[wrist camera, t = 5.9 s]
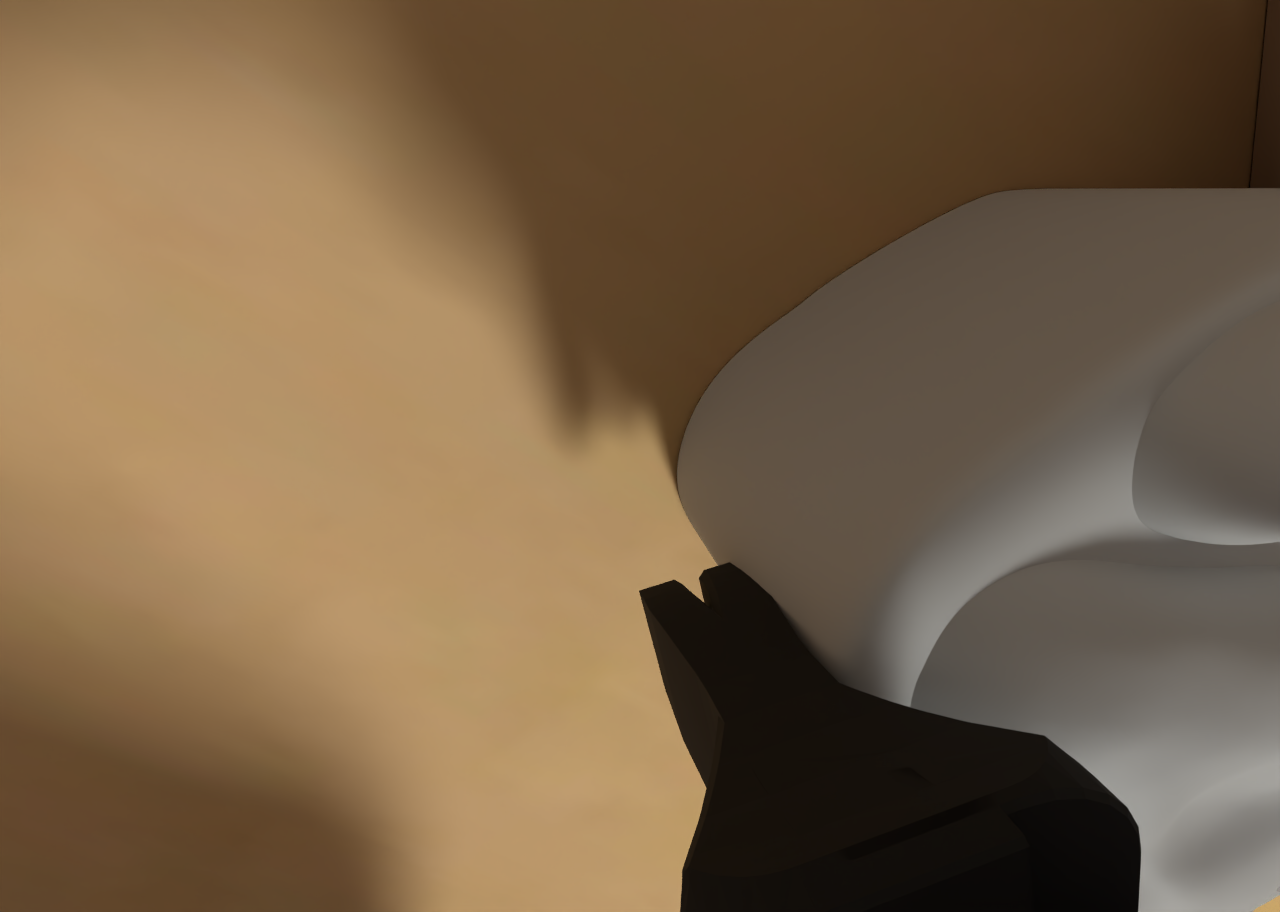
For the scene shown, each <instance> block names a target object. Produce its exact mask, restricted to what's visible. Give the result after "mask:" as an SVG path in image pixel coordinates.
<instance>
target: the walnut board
mask: <svg viewBox="0 0 1280 912" xmlns="http://www.w3.org/2000/svg"><path fill="white" fill-rule="evenodd" d="M1250 188H1280V0H1268V7H1267V18H1266V28H1265V38H1264V49H1263V59H1262V69H1261V80H1260V90H1259V100H1258V111H1257V121H1256V131H1255V142H1254V152H1253V162H1252V173H1251V183H1250Z"/></svg>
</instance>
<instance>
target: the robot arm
mask: <svg viewBox="0 0 1280 912" xmlns="http://www.w3.org/2000/svg"><path fill="white" fill-rule="evenodd" d="M699 580H700V585H701V589H702V594H703V598H704V602H705V603H704V602H702V601H701V600H700V599H699V598H698V597H696V596H695V595H694V594H693V593H692V592H690V591H689V590H688V589H687V588H686V587H685V586H684V585H682V584H681V583H679V582H677V581H676V580H672V581H669V582H665V583H662V584H659V585H656V586H653V587H650V588H647V589H643V590H640V591H639V592H640V596H641V600H642V604H643V607H644V611H645V615H646V619H647V622H648V626H649V630H650V634H651V637H652V641H653V645H654V649H655V652H656V656H657V660H658V664H659V668H660V671H661V675H662V679H663V683H664V686H665V690H666V692H667V695H668V698H669V701H670V704H671V707H672V709H673V712H674V715H675V718H676V721H677V723H678V726H679V729H680V732H681V735H682V737H683V740H684V742H685V744H686V746H687V749H688V751H689V753H690V755H691V757H692V759H693V761H694V763H695V765H696V767H697V769H698V771H699V773H700V775H701V777H702V779H703V781H704V784H705V786H706V788H707V789H706V793H705V797H704V802H703V806H702V810H701V814H700V818H699V821H698V824H697V827H696V830H695V833H694V836H693V839H692V842H691V845H690V848H689V851H688V854H687V857H686V860H685V863H684V866H683V870H682V893H681V908H680V912H1138V907H1139V888H1140V869H1141V843H1140V834H1139V826H1138V825H1137V823H1136V821H1135V819H1134V818H1133V816H1132V814H1131V813H1130V811H1129V809H1128V807H1127V806H1125V805H1124V804H1123V803H1122V802H1121V801H1120V800H1119V799H1118V798H1117V797H1116V796H1115V795H1114V794H1113V793H1112V792H1111V791H1110V790H1108V789H1107V788H1106V787H1105V786H1104V785H1103V784H1102V783H1101V782H1100V781H1099V780H1098V779H1097V778H1096V777H1095V776H1094V775H1092V774H1091V773H1090V772H1089V771H1088V770H1087V769H1086V768H1084V767H1083V766H1082V765H1081V764H1080V763H1079V762H1078V761H1076V760H1075V759H1074V758H1072V757H1071V756H1070V755H1068V754H1067V753H1066V752H1065V751H1063V750H1062V749H1061V748H1059V747H1058V746H1057V745H1056V744H1054V743H1053V742H1052V741H1051V740H1050V739H1048V738H1047V737H1046V736H1044V735H1039V734H1034V733H1028V732H1022V731H1016V730H1011V729H1005V728H999V727H994V726H988V725H982V724H976V723H971V722H966V721H962V720H957V719H953V718H949V717H945V716H941V715H937V714H933V713H930V712H926V711H922V710H918V709H915V708H911V707H908V706H904V705H901V704H898V703H894V702H891V701H888V700H885V699H882V698H880V697H877V696H874V695H871V694H868V693H865V692H862V691H859V690H857V689H854V688H851V687H849V686H846V685H844V684H841V683H839V682H838V681H837V680H836V679H835V678H834V677H833V676H832V675H831V674H830V673H829V672H828V671H827V670H826V669H825V668H824V667H823V666H822V665H821V664H820V662H819V661H818V660H817V659H816V658H815V657H814V656H813V655H812V654H811V653H810V652H809V650H808V649H807V648H806V647H805V645H804V644H803V643H802V641H801V640H800V639H799V637H798V636H797V634H796V633H795V631H794V630H793V628H792V627H791V625H790V624H789V622H788V620H787V619H786V617H785V616H784V614H783V613H782V611H781V610H780V608H779V607H778V605H777V604H776V602H775V600H774V599H773V597H772V596H771V595H770V594H769V593H768V592H766V591H765V590H764V589H763V588H762V587H761V586H760V585H759V584H758V583H757V582H756V581H754V580H753V579H752V578H751V577H750V576H749V575H747V574H746V573H745V572H743V571H742V570H741V569H739V568H738V567H736V566H735V565H733V564H732V563H730V562H728V563H725V564H722V565H719V566H716V567H713V568H709V569H706V570H704V571H703V573H702V574H701V576H700V577H699Z"/></svg>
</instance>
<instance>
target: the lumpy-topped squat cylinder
mask: <svg viewBox="0 0 1280 912" xmlns="http://www.w3.org/2000/svg"><path fill="white" fill-rule="evenodd" d="M677 484H678V491H679V496H680V500H681V503H682V506H683V508H684V511H685V513H686V515H687V517H688V519H689V521H690V522H691V524H692V525H693V527H694V529H695V530H696V532H697V533H698V535H699V536H700V538H701V540H702V541H703V543H704V544H705V546H706V548H707V549H708V551H709V552H710V554H711V555H712V557H713V559H714V560H715V562H716V563H717V565H718V566H719V565H722V564H725V563H728V562H730V563H732V564H733V565H735V566H736V567H738V568H739V569H741V570H742V571H743V572H745V573H746V574H747V575H749V576H750V577H751V578H752V579H753V580H754V581H756V582H757V583H758V584H759V585H760V586H761V587H762V588H763V589H764V590H765V591H766V592H768V593H769V594H770V595H771V596H772V597H773V599H774V600H775V602H776V604H777V605H778V607H779V608H780V610H781V611H782V613H783V614H784V616H785V617H786V619H787V620H788V622H789V624H790V625H791V627H792V628H793V630H794V631H795V633H796V634H797V636H798V637H799V639H800V640H801V641H802V643H803V644H804V645H805V647H806V648H807V649H808V650H809V652H810V653H811V654H812V655H813V656H814V657H815V658H816V659H817V660H818V661H819V662H820V664H821V665H822V666H823V667H824V668H825V669H826V670H827V671H828V672H829V673H830V674H831V675H832V676H833V677H834V678H835V679H836V680H837V681H838V682H839V683H841V684H844V685H846V686H849V687H851V688H854V689H857V690H859V691H862V692H865V693H868V694H871V695H874V696H877V697H880V698H882V699H885V700H888V701H891V702H894V703H898V704H901V705H904V706H908V707H911V708H915V709H918V710H922V711H926V712H930V713H933V714H937V715H941V716H945V717H949V718H953V719H957V720H962V721H966V722H971V723H976V724H982V725H988V726H994V727H999V728H1005V729H1011V730H1016V731H1022V732H1028V733H1034V734H1039V735H1044V736H1046V737H1047V738H1048V739H1050V740H1051V741H1052V742H1053V743H1054V744H1056V745H1057V746H1058V747H1059V748H1061V749H1062V750H1063V751H1065V752H1066V753H1067V754H1068V755H1070V756H1071V757H1072V758H1074V759H1075V760H1076V761H1078V762H1079V763H1080V764H1081V765H1082V766H1083V767H1084V768H1086V769H1087V770H1088V771H1089V772H1090V773H1091V774H1092V775H1094V776H1095V777H1096V778H1097V779H1098V780H1099V781H1100V782H1101V783H1102V784H1103V785H1104V786H1105V787H1106V788H1107V789H1108V790H1110V791H1111V792H1112V793H1113V794H1114V795H1115V796H1116V797H1117V798H1118V799H1119V800H1120V801H1121V802H1122V803H1123V804H1124V805H1125V806H1127V807H1128V809H1129V811H1130V813H1131V814H1132V816H1133V818H1134V819H1135V821H1136V823H1137V825H1138V826H1139V834H1140V843H1141V869H1140V888H1139V907H1138V912H1252V911H1254V910H1255V909H1256V908H1257V907H1259V906H1261V905H1263V904H1265V903H1267V902H1269V901H1270V900H1272V899H1274V898H1275V897H1277V896H1279V895H1280V188H1096V189H1024V190H1011V191H1002V192H997V193H993V194H990V195H986V196H984V197H981V198H978V199H976V200H973V201H971V202H969V203H967V204H964V205H962V206H960V207H958V208H956V209H954V210H952V211H950V212H947V213H945V214H943V215H941V216H940V217H938V218H936V219H934V220H932V221H930V222H928V223H926V224H924V225H922V226H921V227H919V228H917V229H915V230H913V231H912V232H910V233H908V234H906V235H904V236H903V237H901V238H899V239H897V240H896V241H894V242H892V243H890V244H889V245H887V246H885V247H884V248H882V249H880V250H879V251H877V252H875V253H874V254H872V255H870V256H869V257H867V258H865V259H864V260H862V261H861V262H859V263H857V264H856V265H854V266H853V267H851V268H850V269H848V270H846V271H845V272H843V273H842V274H840V275H839V276H837V277H836V278H834V279H833V280H831V281H830V282H828V283H827V284H826V285H824V286H823V287H821V288H820V289H819V290H817V291H816V292H815V293H813V294H812V295H811V296H810V297H808V298H807V299H806V300H805V301H803V302H802V303H801V304H800V305H798V306H797V307H796V308H794V309H793V310H792V311H790V312H789V313H788V314H786V315H785V316H783V317H782V318H781V319H779V320H778V321H776V322H775V323H774V324H772V325H771V326H770V327H768V328H767V329H766V330H764V331H763V332H762V333H760V334H759V335H758V336H757V337H755V338H754V339H753V340H752V341H751V342H749V343H748V344H747V345H746V346H745V347H744V348H743V349H741V350H740V351H739V352H738V353H737V354H736V355H735V356H734V357H733V358H732V359H731V360H730V361H729V362H728V363H727V364H726V365H725V367H724V368H723V369H722V370H721V371H720V372H719V373H718V375H717V376H716V377H715V378H714V380H713V381H712V382H711V384H710V385H709V387H708V388H707V389H706V391H705V392H704V394H703V396H702V397H701V399H700V401H699V402H698V404H697V406H696V408H695V410H694V412H693V414H692V416H691V418H690V421H689V423H688V426H687V428H686V431H685V434H684V437H683V440H682V444H681V448H680V452H679V458H678V466H677Z"/></svg>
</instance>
